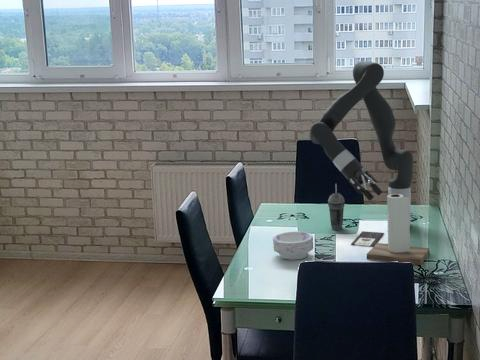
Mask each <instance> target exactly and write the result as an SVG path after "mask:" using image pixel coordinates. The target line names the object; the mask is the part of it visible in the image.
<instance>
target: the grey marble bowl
mask: <svg viewBox="0 0 480 360" xmlns="http://www.w3.org/2000/svg"><path fill="white" fill-rule="evenodd" d="M272 242H273V243H272V244H273V250H274V251H273V252H275V253H277V254H279V256H280V258H282V259H284V260H291V261H296V260H301V259H305V258H306V257H307V256H308V254H309V253H310V252H311V251H313V250H314V237H313V234H311V233H309V232H306V231H285V232H281V233H278V234H276V235H274V236H273V238H272Z"/></svg>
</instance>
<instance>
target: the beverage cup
mask: <svg viewBox="0 0 480 360" xmlns="http://www.w3.org/2000/svg"><path fill="white" fill-rule="evenodd" d="M337 184H338V183H335V185H334V186H335V192H334V193H333V192H332V194H330V195H329V197H328V200H327V205H328V209H329V210H328V212H329V218H330V226H331V230H333V231H339V230H342V229H343V225H344V224H343V223H344V221H343V220H344V209H345V205H346V204H345V203H346V202H345V198H344V196H343V195H342V194H341V193H340V192H337V191H338V185H337Z"/></svg>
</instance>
